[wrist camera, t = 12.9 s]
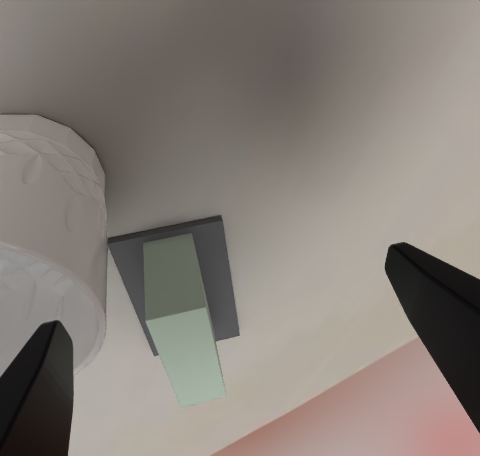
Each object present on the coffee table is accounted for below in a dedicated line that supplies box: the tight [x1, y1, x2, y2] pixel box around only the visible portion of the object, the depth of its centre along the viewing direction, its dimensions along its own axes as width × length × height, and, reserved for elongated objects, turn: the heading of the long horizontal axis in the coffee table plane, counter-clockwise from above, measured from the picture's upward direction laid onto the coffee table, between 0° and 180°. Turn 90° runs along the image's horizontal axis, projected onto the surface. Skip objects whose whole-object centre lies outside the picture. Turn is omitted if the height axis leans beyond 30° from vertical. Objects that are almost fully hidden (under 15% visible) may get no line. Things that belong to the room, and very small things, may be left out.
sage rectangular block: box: [143, 233, 226, 408], centre depth 24 cm, size 9×3×6 cm, turn 5°
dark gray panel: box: [107, 216, 240, 356], centre depth 27 cm, size 7×12×1 cm, turn 5°
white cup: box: [0, 115, 108, 377], centre depth 16 cm, size 8×8×10 cm
